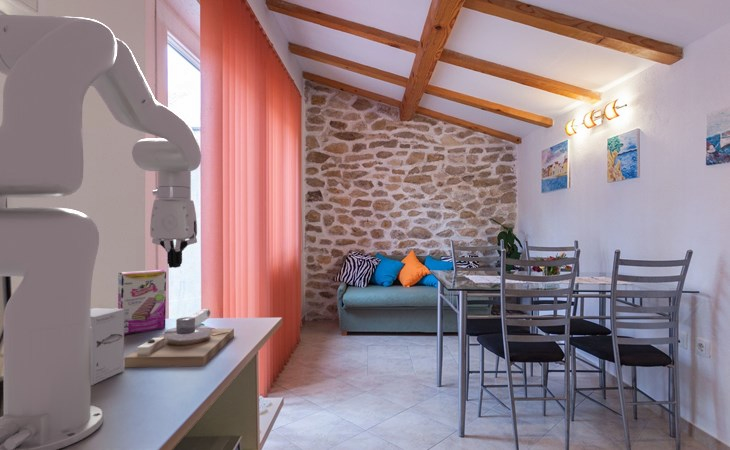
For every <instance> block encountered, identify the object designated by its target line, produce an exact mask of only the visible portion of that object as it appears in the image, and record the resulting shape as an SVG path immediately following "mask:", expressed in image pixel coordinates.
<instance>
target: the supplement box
mask: <svg viewBox="0 0 730 450" xmlns="http://www.w3.org/2000/svg"><path fill="white" fill-rule="evenodd" d="M90 318H91V386H94V385H95V384H98V383H100V382H102V381H105V380H106V379H108V378H111V377H113V376H116V375H117V374H120V373H122V372H124V371H125V367H124V357H125V335H124V309H118V308H108V307H106V308H103V307H94V308H91V317H90Z"/></svg>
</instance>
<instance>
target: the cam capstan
mask: <svg viewBox="0 0 730 450" xmlns="http://www.w3.org/2000/svg"><path fill="white" fill-rule="evenodd" d="M210 315H211V311H210V309H209V308H202V309H200V310H198V311H197V312H195V313H193V314H192V315H190V316H188V317H187V316H185V317H180V318H177V319H176V321H175V322H176V323H175V324H176V325H175V326H176V327H172V328H170V329H167V330H165V331H164V333H163V334H164V342H165V343H166V344H169V345H190V344H196V343H200V342H203V341H206V340H208V339H209V338H210V329H211V327H210V326H207V325H205V324H204V325H201V324H202V323H203V322H205V321H206V320H208V319H210V318H209V317H210Z"/></svg>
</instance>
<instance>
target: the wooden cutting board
mask: <svg viewBox="0 0 730 450" xmlns="http://www.w3.org/2000/svg"><path fill="white" fill-rule="evenodd" d="M233 336H234V337H235V329H234V328H210V338H209V339H208V340H206V341H203V342H200V343H196V344H190V345H169V344H166V343H165V342H164V333H163V334H161V335H159V336H158V337H152V338H150V339H148V341H146V342H144V343H142V344H141V345H139V346H137V348H136V350H134V351H133V352H131V353H130V354H128V355H127V356H124V368H153V367H156V368H161V367H163V368H164V367H165V368H166V367H169V368H170V367H205V365H206V364H207V363H209V362H210V360H211V359H212V358H213V357H215V355H217V353H218V352H219V351H221V350H222V348H224V346H226V344H228V343H229V342H230V341H231V340H232V339H233V338H234V337H233Z"/></svg>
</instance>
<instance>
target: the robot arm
mask: <svg viewBox="0 0 730 450" xmlns="http://www.w3.org/2000/svg"><path fill="white" fill-rule="evenodd" d="M0 73H1V74H3V75H5V76H6V78H5V80H4V84H3V89H2V121H1V125H0V277H21V278H22V277H23V278H22V280H21V282H20V283H19V285H18V286H17V288H15V290H14V291H13V293H12V294H11V296H10V298H9V299H8V301H7V302H6V305H5V307H4V311H3V327H2V329H3V415H2V416H0V450H59V449H62V448H66V447H68V446H71V445H73V444H76V443H77V442H80V441H81V440H83V439H86V438H87V437H88V436H90V435H92V434H93V433H94V432H96V431H97V430H98V429H99V428H100V427H101V425H102V424H103V422H104V412H103V409H101V408H100V407H97V406H95V405H91V395H92V394H91V392H92V390H91V386H92V385H91V318H90V317H91V309H92V308H91V305H92V303H91V301H92V300H91V299H92V284H93V283H92V282H93V275H94V269H95V264H96V259H97V255H98V251H99V246H100V245H99V244H100V233H99V229H98V226H97V224H96V222H95V221H93V219H92V218H91V217H89V216H88V215H87V214H85V213H83V212H82V211H81V212H80V211H78V210H75V209H71V208H65V207H64V208H63V207H49V206H48V207H47V206H46V207H42V206H41V207H37V206H34V207H32V206H31V207H25V206H24V207H23V206H22V207H6V206H7V198H14V199H15V198H17V199H19V198H24V199H25V198H26V199H27V198H33V199H34V198H37V199H38V198H59V197H66V196H70V195H72V194H74V193H76V192H77V191H78V190H79V189H80V188H81V185H82V183H83V179H84V140H83V139H84V138H83V136H84V134H83V133H84V132H83V104H84V99H85V95H86V94H87V92H88V89H89V88H90V87H93V88H94V89H95V91H96V92H97V93H98V95H99V97H101V99H102V101H103V102H104V104H105V105H106V107H107V109H108V111H110V113H111V115H112V116H113V118H114V119H115V120H116V121H117V122H118V123H120V124H121V125H123V126H125V127H128V128H131V129H133V130H137V131H139V132H142V133H145V134H148V135H149V134H150V135H152V136H155V137H158V138H143V139H140V140H138V141H136V143H134V145H133V147H132V150H131V151H132V152H131V155H132V159H133V161H134V164H136V166H138V167H139V168H140V169H142V170H144V171H147V172H157V187H156V189H154V190H152V195H153V196H156V197H157V199H154V200H153V204H152V207H151V208H152V209H151V216H150V225H149V230H150V231H149V234H150V238H152V240H151V242H152V244H153V245H158V246H161V247H162V248H163V249H164V251H165V252H166V253H167V256H166V257H167V264H168V268H169V269H170V268H175V269H176V268H180V267H181V264H182V263H183V251H184V250H185V249H186V248H187V246H189V245H193V244H194V245H195V244H196V243H198V239H197V235H198V221H197V213H196V208H195V202H194V200H192V190H191V189H192V188H191V185H192V182H191V181H192V179H191V178H192V177H191V176H192V175H191V173H192V172H193V171H195V170H197V169H198V168H199V167H200V165H201V162H202V152H201V149H200V148H201V147H200V145H199V143H198V139H197V138H196V135H195V133H194V131H193V129H192V127H191V126H190V125H189V124H188V122H187V121H186V120H185V119H183V118H182V117H181V116H179V115H178V114H177V113H175V112H174V111H173V110H171V109H170V108H169V107H167V106H165V105H164V104H161V102H158V101H157V100H156V99H155V96H154V94H153V91H152V90H151V88H150V86H149V84H148V82H147V81H146V78H145V76H144V74H143V72H142V70H141V68H140V66H139V65H138V63H137V60H136V58H135V56H134V55H133V52H132V51H131V49H130V47H129V46H128V45H127V44H126V43H125V42H124V41H123V40H120V39H119V38H117V37H115V34H114V33H113V31H112V30H111V29H110V28H109V26H107V25H105V24H104V23H102V22H100V21H98V20H96V19H91V18H87V17H76V16H62V15H59V16H57V15H55V16H54V15H25V14H24V15H23V14H22V15H20V14H0Z"/></svg>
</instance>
